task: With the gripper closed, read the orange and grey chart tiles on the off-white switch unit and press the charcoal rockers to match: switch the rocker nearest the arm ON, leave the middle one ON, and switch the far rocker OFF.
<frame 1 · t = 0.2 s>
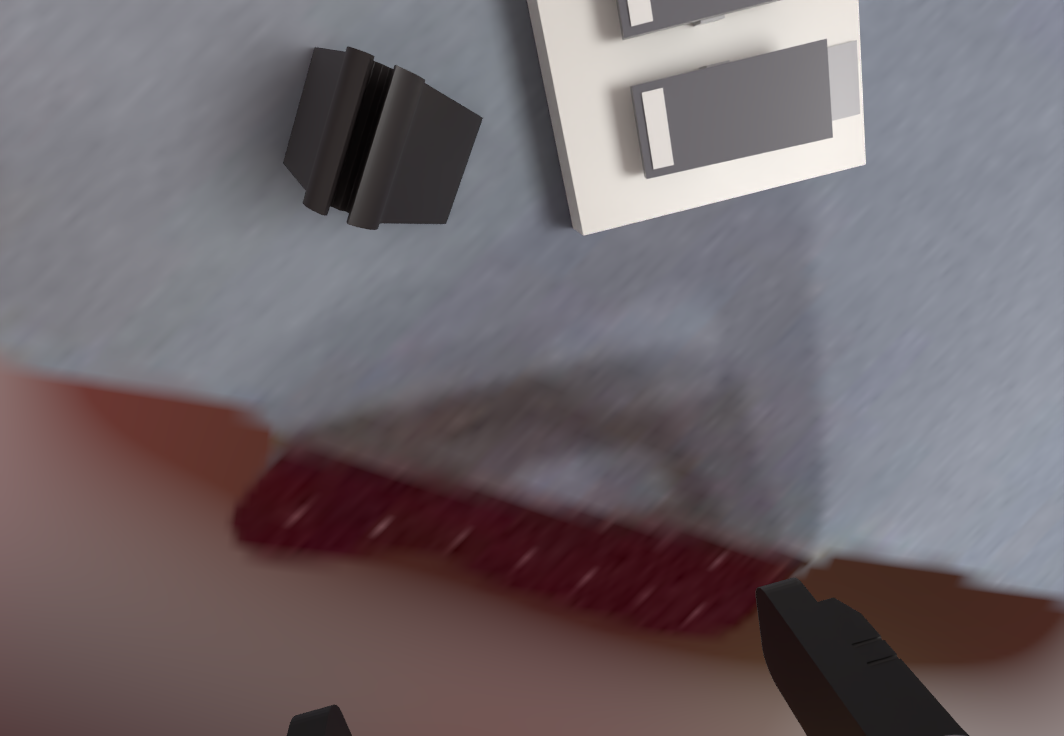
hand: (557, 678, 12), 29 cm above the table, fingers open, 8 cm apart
phone stand: (384, 140, 36), on the table
rocker c: (730, 111, 32), point 5 cm above the table, hinge at 11.0°
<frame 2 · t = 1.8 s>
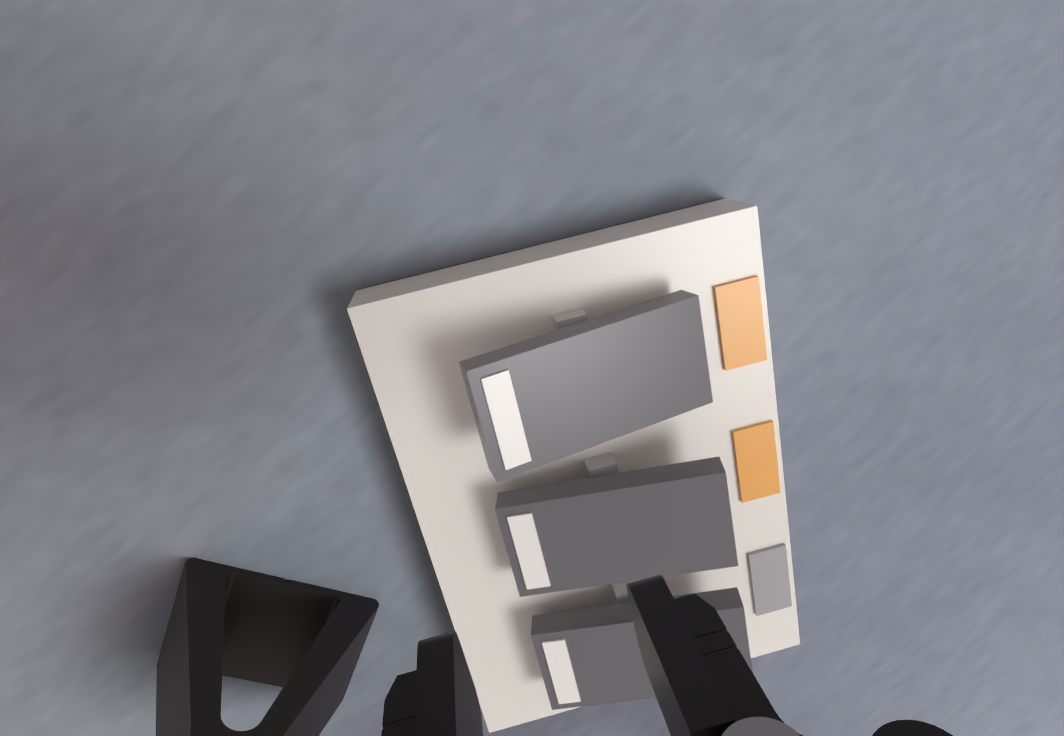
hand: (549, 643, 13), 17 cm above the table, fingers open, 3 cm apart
phone stand: (271, 625, 33), on the table
rocker c: (642, 651, 29), point 5 cm above the table, hinge at 11.0°
switch unit: (592, 468, 32), on the table
rocker b: (616, 529, 27), point 5 cm above the table, hinge at 11.0°
rocker a: (592, 383, 25), point 5 cm above the table, hinge at -11.0°
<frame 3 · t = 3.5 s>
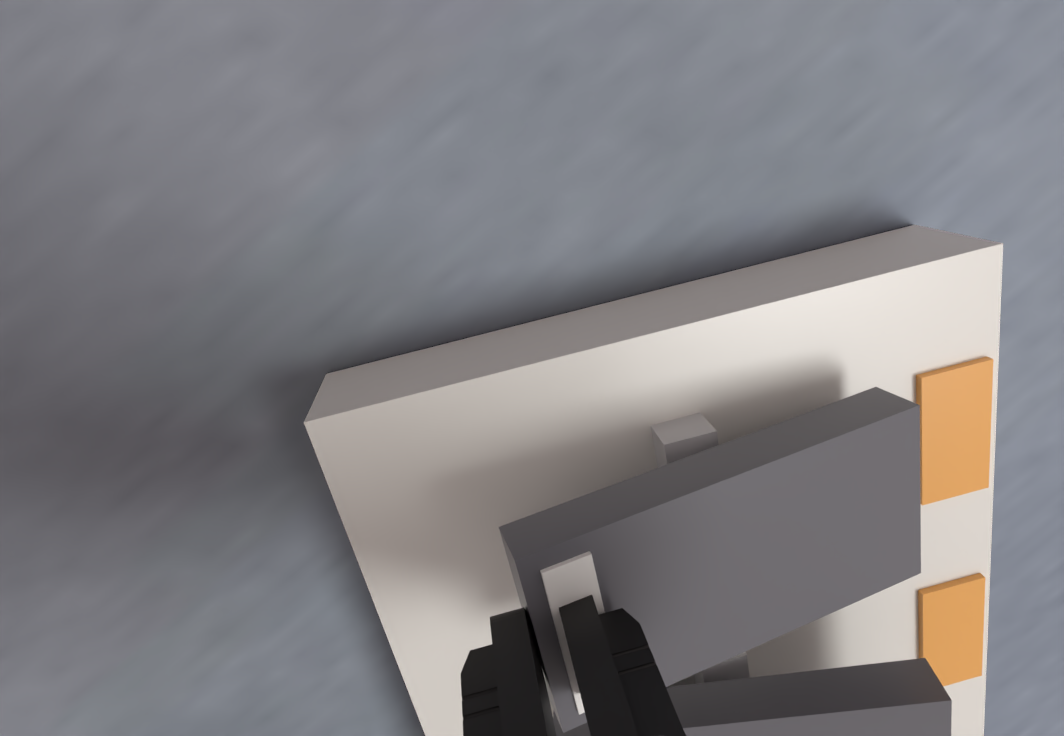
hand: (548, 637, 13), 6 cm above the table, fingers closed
switch unit: (682, 621, 21), on the table
rocker a: (728, 553, 14), point 5 cm above the table, hinge at -9.8°, touching gripper
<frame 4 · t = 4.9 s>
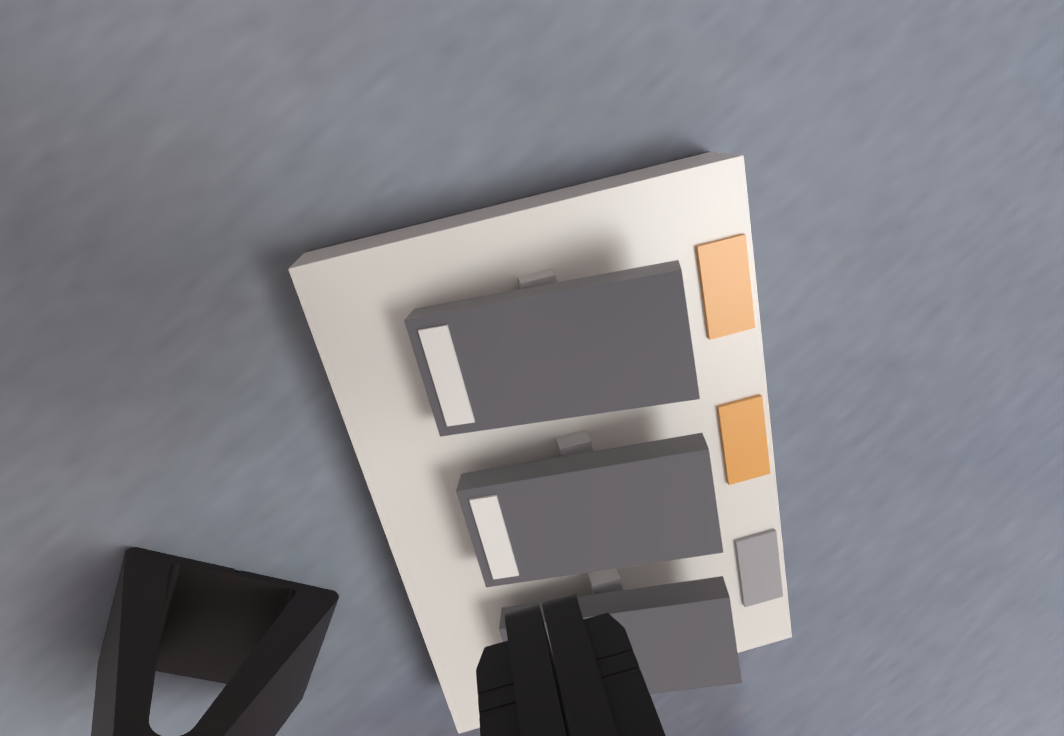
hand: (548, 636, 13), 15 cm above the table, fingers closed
phone stand: (223, 619, 30), on the table
rocker c: (620, 645, 27), point 5 cm above the table, hinge at 11.0°
switch unit: (567, 449, 29), on the table
rocker b: (590, 513, 25), point 5 cm above the table, hinge at 11.0°
rocker a: (553, 353, 22), point 5 cm above the table, hinge at 15.1°
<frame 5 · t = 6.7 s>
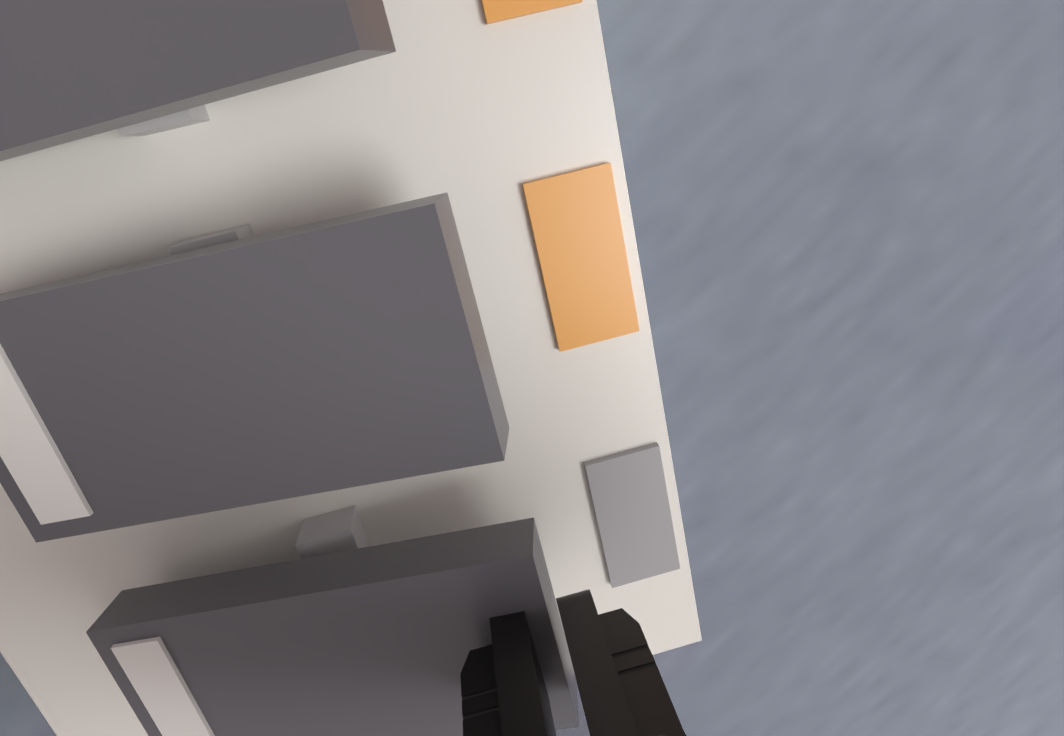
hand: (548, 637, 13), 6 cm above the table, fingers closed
rocker c: (346, 659, 14), point 5 cm above the table, hinge at 9.7°, touching gripper
switch unit: (290, 304, 16), on the table
rocker b: (226, 380, 12), point 5 cm above the table, hinge at 11.0°
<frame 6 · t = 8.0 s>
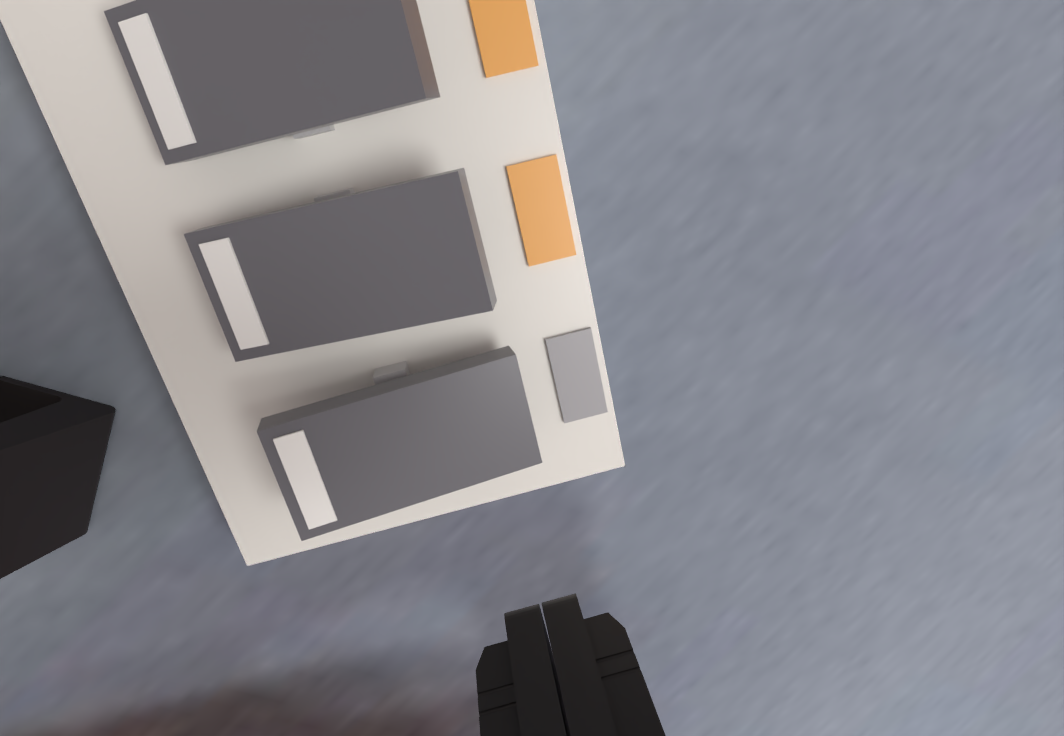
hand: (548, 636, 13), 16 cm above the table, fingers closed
rocker c: (407, 441, 24), point 5 cm above the table, hinge at -6.8°
switch unit: (365, 243, 26), on the table
rocker b: (345, 268, 22), point 5 cm above the table, hinge at 11.0°
rocker a: (271, 54, 19), point 5 cm above the table, hinge at 19.9°, touching switch unit
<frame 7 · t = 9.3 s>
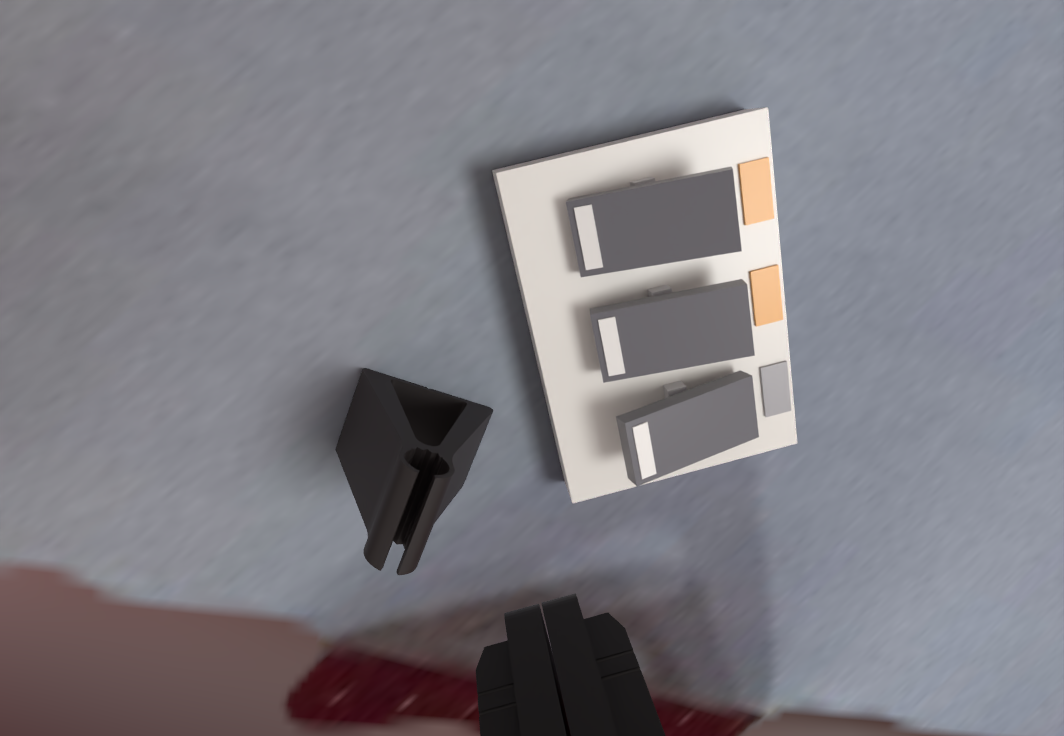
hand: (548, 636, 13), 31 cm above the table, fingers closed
phone stand: (415, 426, 45), on the table
rocker c: (690, 427, 42), point 5 cm above the table, hinge at -12.2°
switch unit: (647, 310, 44), on the table
rocker b: (671, 332, 39), point 5 cm above the table, hinge at 11.0°
rocker a: (653, 224, 37), point 5 cm above the table, hinge at 19.8°, touching switch unit
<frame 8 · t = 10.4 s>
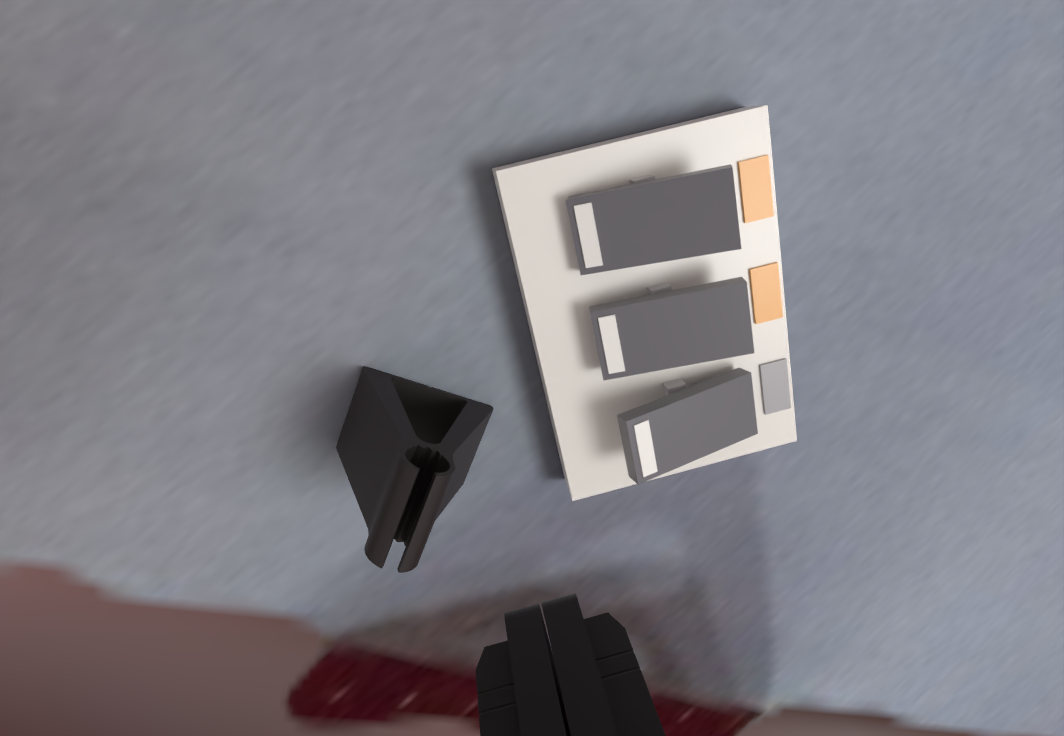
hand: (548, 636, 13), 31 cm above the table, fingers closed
phone stand: (415, 424, 45), on the table
rocker c: (690, 424, 42), point 5 cm above the table, hinge at -13.6°
switch unit: (647, 307, 44), on the table
rocker b: (671, 329, 40), point 5 cm above the table, hinge at 11.0°
rocker a: (652, 222, 37), point 5 cm above the table, hinge at 19.8°, touching switch unit
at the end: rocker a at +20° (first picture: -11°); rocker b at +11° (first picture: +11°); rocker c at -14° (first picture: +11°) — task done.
